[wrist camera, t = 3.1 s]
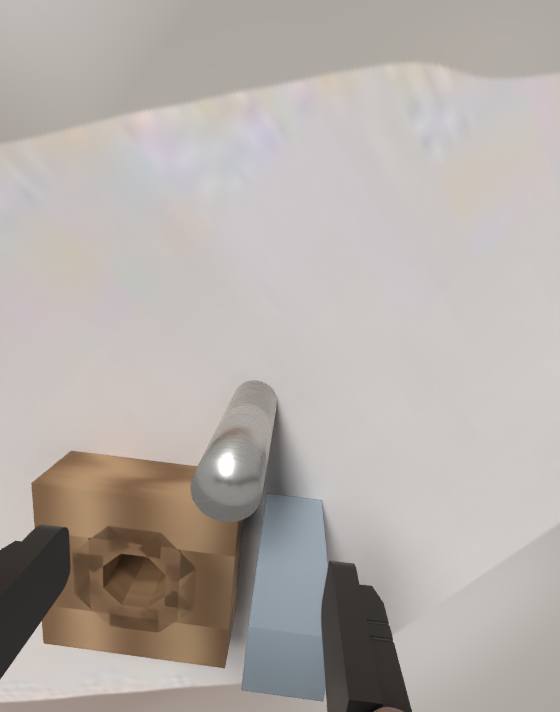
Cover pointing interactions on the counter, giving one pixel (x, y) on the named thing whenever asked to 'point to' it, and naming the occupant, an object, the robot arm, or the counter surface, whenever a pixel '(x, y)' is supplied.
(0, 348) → the counter surface
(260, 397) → the round peg
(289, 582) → the square peg
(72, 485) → the bore block
